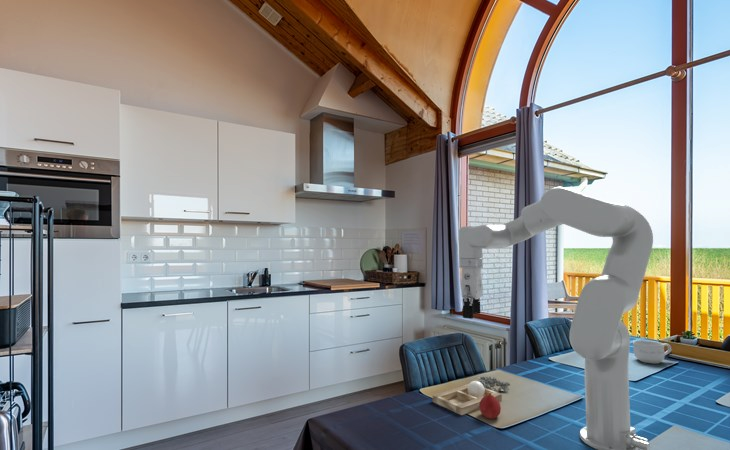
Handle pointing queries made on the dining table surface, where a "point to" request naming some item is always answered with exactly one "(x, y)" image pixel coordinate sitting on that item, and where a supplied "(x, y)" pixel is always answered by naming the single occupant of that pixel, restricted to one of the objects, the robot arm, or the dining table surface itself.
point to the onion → (490, 406)
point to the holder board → (461, 399)
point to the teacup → (650, 351)
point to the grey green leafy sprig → (492, 383)
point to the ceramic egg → (476, 389)
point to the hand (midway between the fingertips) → (471, 315)
